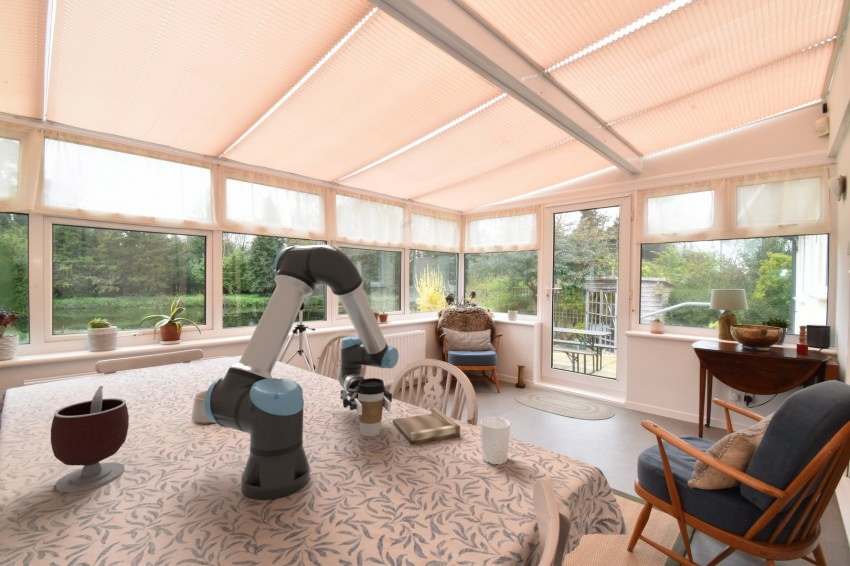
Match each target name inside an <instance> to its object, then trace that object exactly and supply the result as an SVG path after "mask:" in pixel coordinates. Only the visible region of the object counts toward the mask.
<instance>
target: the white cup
mask: <svg viewBox="0 0 850 566" xmlns="http://www.w3.org/2000/svg"><path fill="white" fill-rule="evenodd" d="M510 431H511V423H510V421H509V420H507V419H505V418H502V417H498V416H489V417H484V418H481V420H480V442H481V452H482V453H481V458H482V460H483V459H484V460H485V461H484V460H483V461H484V462H486V463H488V462H489V463H488V464H490V463H491V465H496V464H498V465H504V464H506V463H507V461H508V459H509V458H508V456H509V447H510V445H509V443H510V433H511V432H510ZM505 462H506V463H505ZM503 463H504V464H503Z"/></svg>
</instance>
